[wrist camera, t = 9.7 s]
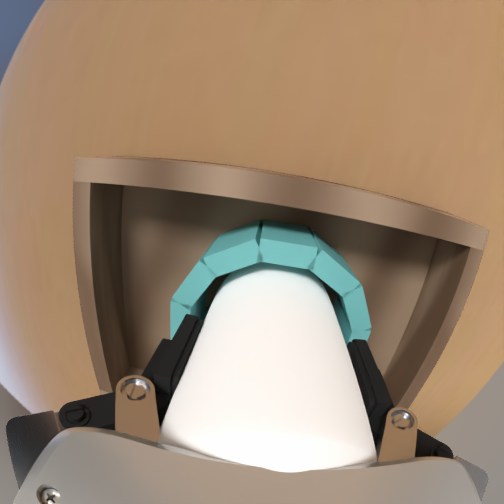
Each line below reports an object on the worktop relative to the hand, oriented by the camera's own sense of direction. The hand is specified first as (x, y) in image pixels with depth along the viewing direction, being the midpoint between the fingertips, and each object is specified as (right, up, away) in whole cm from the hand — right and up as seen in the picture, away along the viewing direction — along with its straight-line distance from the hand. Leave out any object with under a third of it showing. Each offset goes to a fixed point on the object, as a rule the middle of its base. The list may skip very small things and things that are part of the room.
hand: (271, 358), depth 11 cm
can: (0, +1, +4) cm, 5 cm away
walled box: (0, +1, +7) cm, 7 cm away
